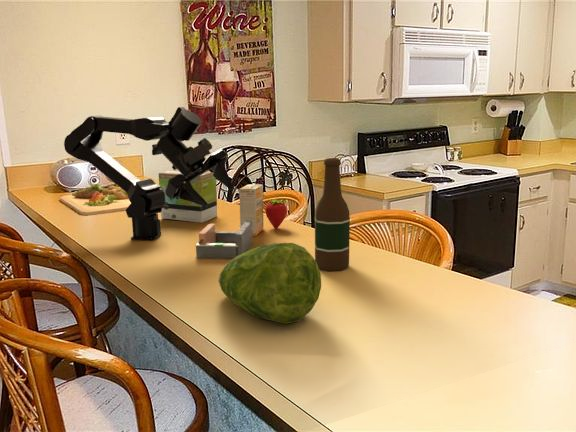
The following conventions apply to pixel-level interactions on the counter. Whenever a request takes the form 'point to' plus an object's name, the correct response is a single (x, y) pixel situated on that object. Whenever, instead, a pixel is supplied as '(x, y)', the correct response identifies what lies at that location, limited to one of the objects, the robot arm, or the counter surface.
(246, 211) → the supplement box
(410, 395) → the counter surface
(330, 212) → the beer bottle
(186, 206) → the tea box
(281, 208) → the strawberry
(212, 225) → the long salmon pink beam
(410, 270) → the counter surface
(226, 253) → the gauge frame
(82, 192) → the cutting board
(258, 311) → the lettuce
